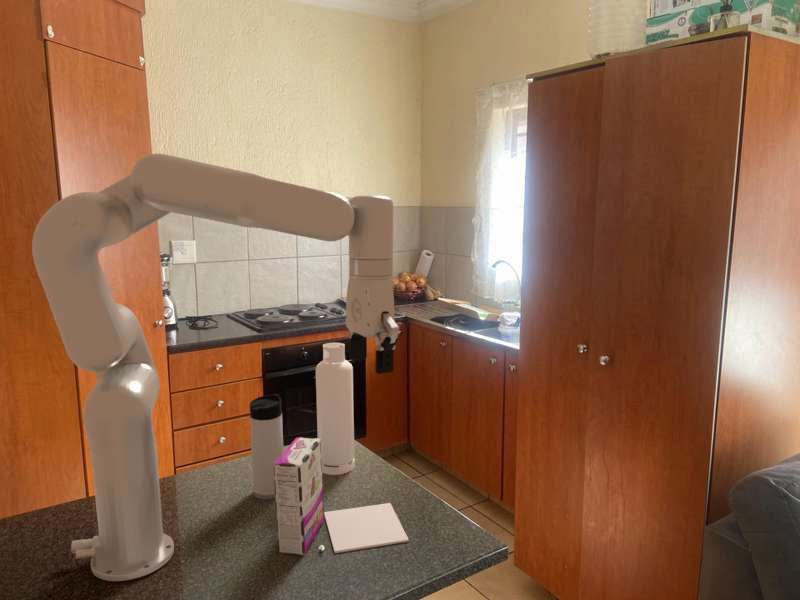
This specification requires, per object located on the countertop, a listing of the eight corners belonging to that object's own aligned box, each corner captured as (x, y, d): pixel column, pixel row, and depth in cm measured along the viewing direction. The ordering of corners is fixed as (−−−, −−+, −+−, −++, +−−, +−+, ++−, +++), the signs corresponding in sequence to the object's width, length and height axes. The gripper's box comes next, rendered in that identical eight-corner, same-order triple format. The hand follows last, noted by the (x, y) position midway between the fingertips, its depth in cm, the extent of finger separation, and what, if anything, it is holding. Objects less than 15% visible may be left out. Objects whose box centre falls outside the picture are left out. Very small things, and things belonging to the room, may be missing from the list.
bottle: (361, 469, 129) (359, 346, 125) (327, 478, 125) (324, 351, 120) (344, 455, 136) (342, 339, 131) (312, 464, 132) (308, 343, 127)
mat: (334, 553, 98) (334, 551, 98) (324, 514, 111) (324, 512, 110) (408, 541, 101) (408, 539, 101) (390, 504, 114) (390, 502, 114)
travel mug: (292, 489, 120) (289, 396, 117) (269, 503, 115) (265, 406, 111) (270, 481, 123) (266, 391, 120) (247, 494, 118) (242, 400, 115)
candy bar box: (299, 519, 109) (296, 436, 106) (324, 521, 108) (322, 437, 105) (276, 554, 98) (272, 462, 95) (304, 557, 97) (301, 464, 94)
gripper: (330, 265, 105) (331, 357, 108) (375, 275, 90) (375, 381, 93) (367, 263, 109) (367, 352, 112) (416, 272, 94) (415, 375, 97)
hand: (370, 365), depth 102 cm, fingers open, 9 cm apart
